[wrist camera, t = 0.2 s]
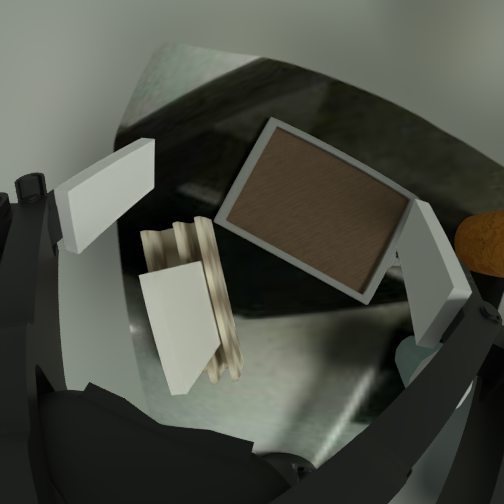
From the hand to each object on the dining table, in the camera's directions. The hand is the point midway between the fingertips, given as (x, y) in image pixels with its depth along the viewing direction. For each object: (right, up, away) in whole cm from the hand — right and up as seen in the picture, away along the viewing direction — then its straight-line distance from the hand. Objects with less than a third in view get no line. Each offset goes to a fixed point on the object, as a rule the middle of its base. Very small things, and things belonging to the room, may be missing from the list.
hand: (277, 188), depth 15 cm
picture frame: (+11, +3, +35) cm, 36 cm away
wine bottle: (+37, -1, +31) cm, 48 cm away
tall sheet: (-7, -10, +35) cm, 37 cm away
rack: (-10, -11, +37) cm, 39 cm away
